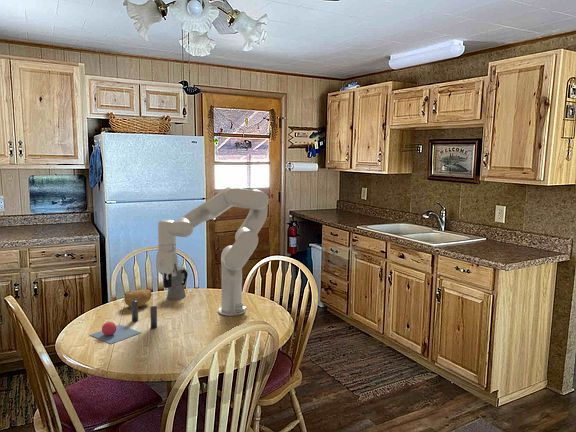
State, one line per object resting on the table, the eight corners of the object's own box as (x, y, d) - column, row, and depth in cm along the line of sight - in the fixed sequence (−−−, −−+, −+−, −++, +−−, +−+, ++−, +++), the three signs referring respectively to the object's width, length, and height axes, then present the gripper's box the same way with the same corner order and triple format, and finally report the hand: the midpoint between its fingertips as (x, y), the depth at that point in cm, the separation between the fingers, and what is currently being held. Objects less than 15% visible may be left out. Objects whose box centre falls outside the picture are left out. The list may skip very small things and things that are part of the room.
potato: (156, 304, 217) (156, 288, 216) (132, 312, 206) (132, 295, 205) (143, 300, 223) (143, 285, 222) (119, 308, 211) (119, 291, 210)
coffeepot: (160, 296, 230) (160, 262, 228) (175, 292, 238) (175, 259, 235) (179, 302, 221) (179, 267, 219) (194, 298, 228) (194, 264, 226)
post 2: (158, 327, 189) (158, 306, 188) (153, 329, 187) (153, 308, 186) (154, 325, 190) (154, 305, 189) (149, 327, 188) (149, 307, 187)
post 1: (139, 320, 196) (139, 300, 195) (134, 322, 194) (134, 302, 193) (135, 319, 197) (135, 299, 196) (130, 320, 195) (130, 301, 194)
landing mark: (141, 332, 182) (141, 332, 182) (110, 344, 171) (110, 343, 171) (120, 325, 190) (120, 324, 190) (89, 335, 179) (89, 334, 179)
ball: (110, 340, 177) (121, 330, 180) (104, 330, 174) (115, 320, 178) (103, 336, 180) (113, 326, 184) (96, 327, 177) (107, 317, 181)
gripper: (149, 246, 200) (150, 286, 202) (172, 251, 191) (172, 292, 194) (162, 244, 206) (163, 282, 208) (185, 248, 197) (185, 288, 200)
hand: (167, 287), depth 201 cm, fingers closed
